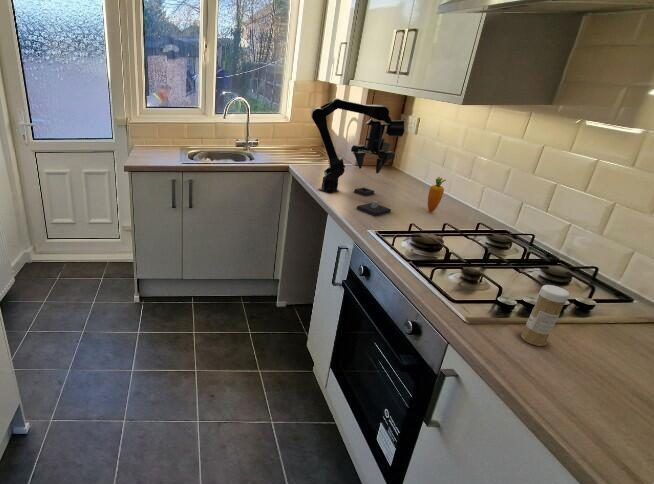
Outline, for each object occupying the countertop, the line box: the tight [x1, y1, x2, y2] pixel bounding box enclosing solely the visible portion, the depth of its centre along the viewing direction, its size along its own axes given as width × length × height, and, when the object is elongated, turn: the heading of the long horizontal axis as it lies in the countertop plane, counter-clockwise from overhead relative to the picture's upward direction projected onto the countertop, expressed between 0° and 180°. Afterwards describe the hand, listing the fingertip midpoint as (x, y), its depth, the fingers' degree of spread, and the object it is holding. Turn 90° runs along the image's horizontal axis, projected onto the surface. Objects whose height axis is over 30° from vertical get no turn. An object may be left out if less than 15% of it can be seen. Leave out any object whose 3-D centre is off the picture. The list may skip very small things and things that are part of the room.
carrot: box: [427, 176, 447, 214], centre depth 165 cm, size 5×5×15 cm
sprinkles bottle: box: [520, 284, 570, 347], centre depth 91 cm, size 5×5×13 cm
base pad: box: [356, 200, 392, 217], centre depth 169 cm, size 9×9×4 cm
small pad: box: [353, 186, 375, 197], centre depth 190 cm, size 6×6×2 cm
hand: (368, 170), depth 186 cm, fingers open, 9 cm apart
